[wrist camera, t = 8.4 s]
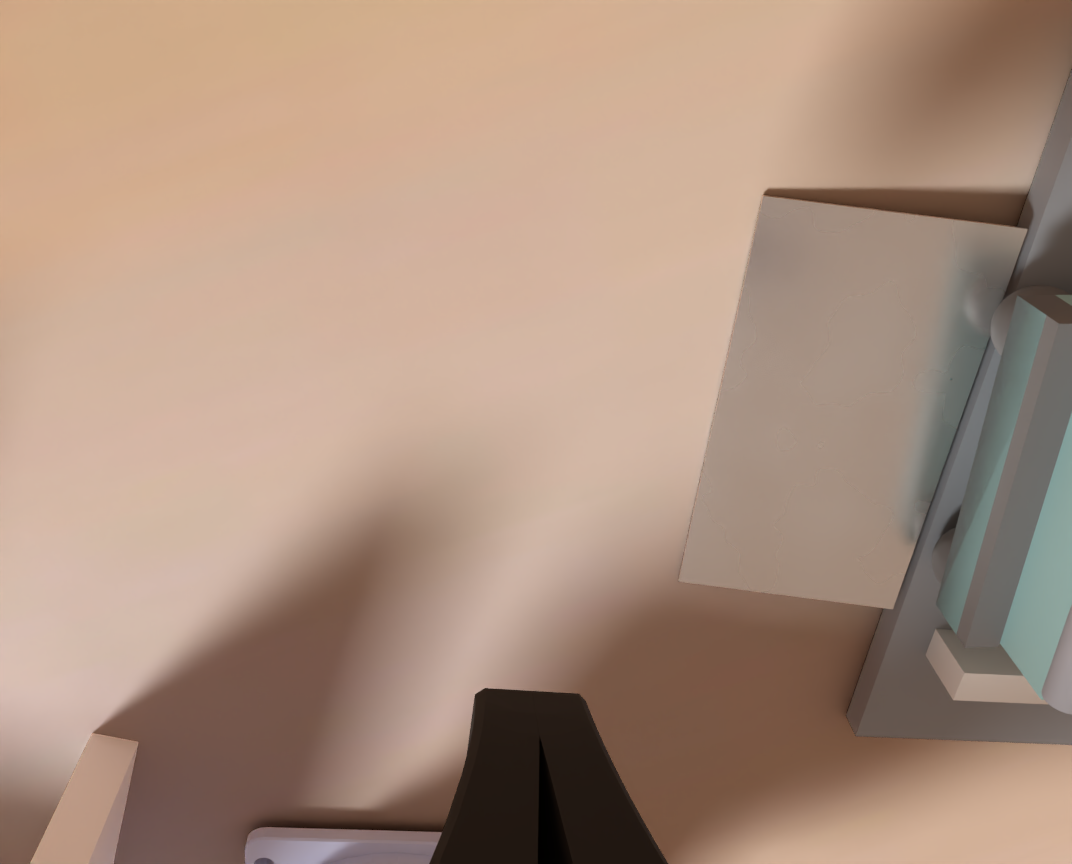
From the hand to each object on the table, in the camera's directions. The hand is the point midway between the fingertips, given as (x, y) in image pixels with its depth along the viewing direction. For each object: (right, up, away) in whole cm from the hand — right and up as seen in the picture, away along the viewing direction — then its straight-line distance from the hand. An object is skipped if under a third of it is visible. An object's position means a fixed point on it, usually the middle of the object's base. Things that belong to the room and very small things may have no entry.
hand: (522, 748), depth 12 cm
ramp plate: (+6, +4, +8) cm, 11 cm away
